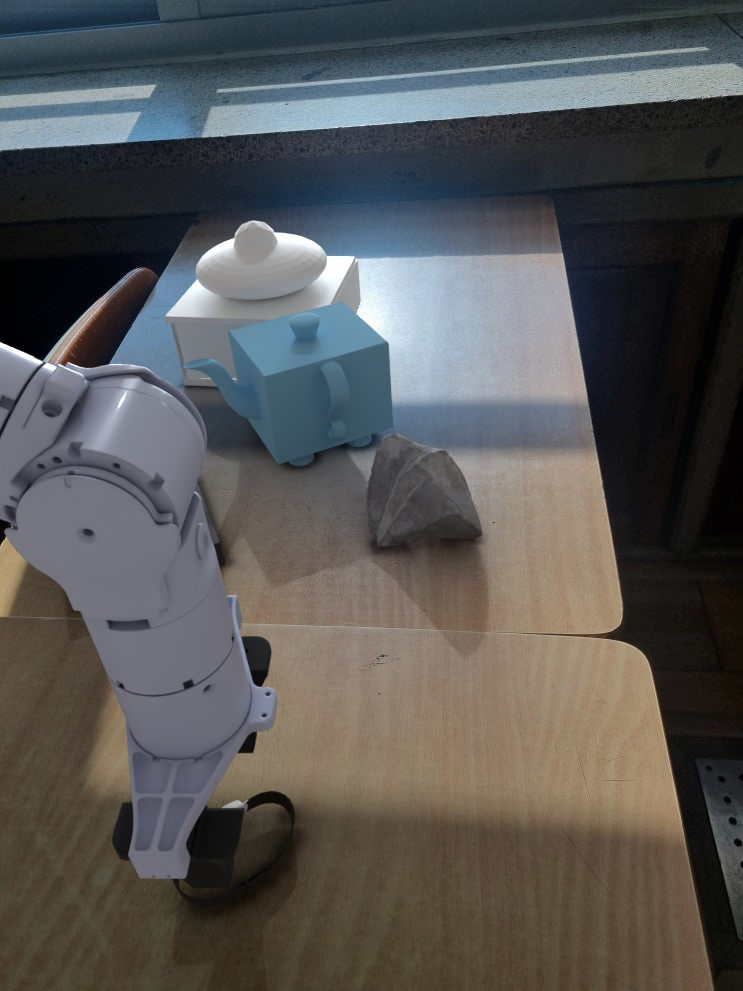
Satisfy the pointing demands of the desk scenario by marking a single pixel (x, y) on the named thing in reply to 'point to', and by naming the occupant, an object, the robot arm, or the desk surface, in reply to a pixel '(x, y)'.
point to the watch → (263, 872)
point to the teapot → (308, 381)
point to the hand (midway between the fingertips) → (225, 809)
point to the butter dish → (255, 291)
